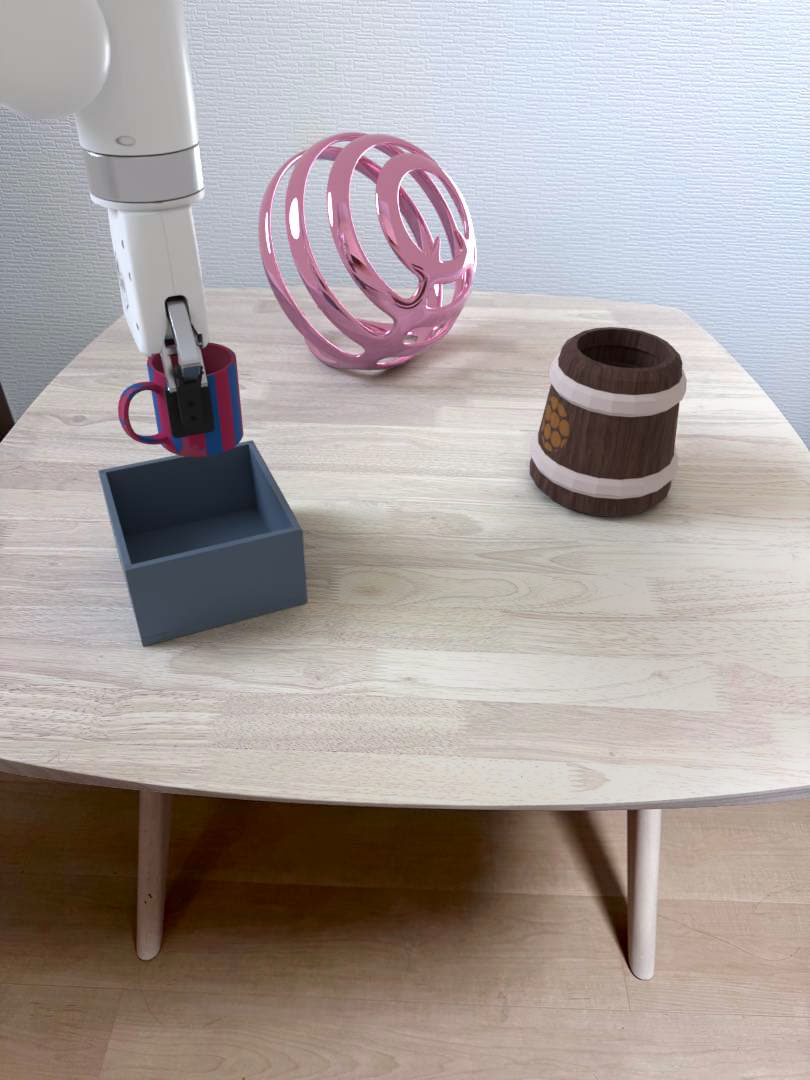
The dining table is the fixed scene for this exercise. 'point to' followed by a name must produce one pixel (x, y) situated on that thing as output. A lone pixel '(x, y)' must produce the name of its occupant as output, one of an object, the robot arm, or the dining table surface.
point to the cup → (223, 401)
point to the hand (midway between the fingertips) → (183, 409)
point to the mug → (610, 423)
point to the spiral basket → (420, 259)
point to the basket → (204, 541)
